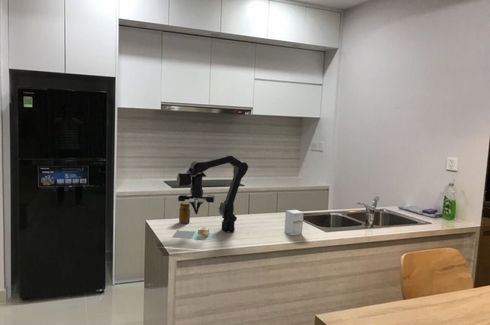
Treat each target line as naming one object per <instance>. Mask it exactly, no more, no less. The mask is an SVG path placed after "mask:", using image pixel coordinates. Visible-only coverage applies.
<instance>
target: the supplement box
mask: <svg viewBox="0 0 490 325" xmlns="http://www.w3.org/2000/svg"><path fill="white" fill-rule="evenodd" d="M284 216H285V217H284V218H285V219H284V233H285V234H287V235H289V236H291V237H292V236H298V235H303V224H304V211H301V210H298V209H292V210H291V209H290V210H289V209H287V210H285V215H284Z"/></svg>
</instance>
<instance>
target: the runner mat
mask: <svg viewBox="0 0 490 325" xmlns="http://www.w3.org/2000/svg"><path fill="white" fill-rule="evenodd" d="M214 235H215V233H214V232H209V236H208V238H205V237H198V231H192V230H191V231H190V230H179V229H178V230H176V231H175V233H174V234H173V235H172V237H171V238H173V239H174V238H175V239H177V238H178V239H191V240H202V241H211V240H212V239H213V236H214Z"/></svg>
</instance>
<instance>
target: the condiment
mask: <svg viewBox="0 0 490 325" xmlns="http://www.w3.org/2000/svg"><path fill="white" fill-rule="evenodd" d="M190 205H191V203H189V202H181V203H180V206H179V214H178V216H179V217H178V222H176V224H180V225H187V224H188V225H189V223H190V225H192V224H193V223H191V222H190V220H191V208H190Z"/></svg>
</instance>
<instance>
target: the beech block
mask: <svg viewBox="0 0 490 325" xmlns="http://www.w3.org/2000/svg"><path fill="white" fill-rule="evenodd" d="M197 232H198V237H205V238H208V236H209V233H210V227H207V226H199V228H198V229H197Z"/></svg>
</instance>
